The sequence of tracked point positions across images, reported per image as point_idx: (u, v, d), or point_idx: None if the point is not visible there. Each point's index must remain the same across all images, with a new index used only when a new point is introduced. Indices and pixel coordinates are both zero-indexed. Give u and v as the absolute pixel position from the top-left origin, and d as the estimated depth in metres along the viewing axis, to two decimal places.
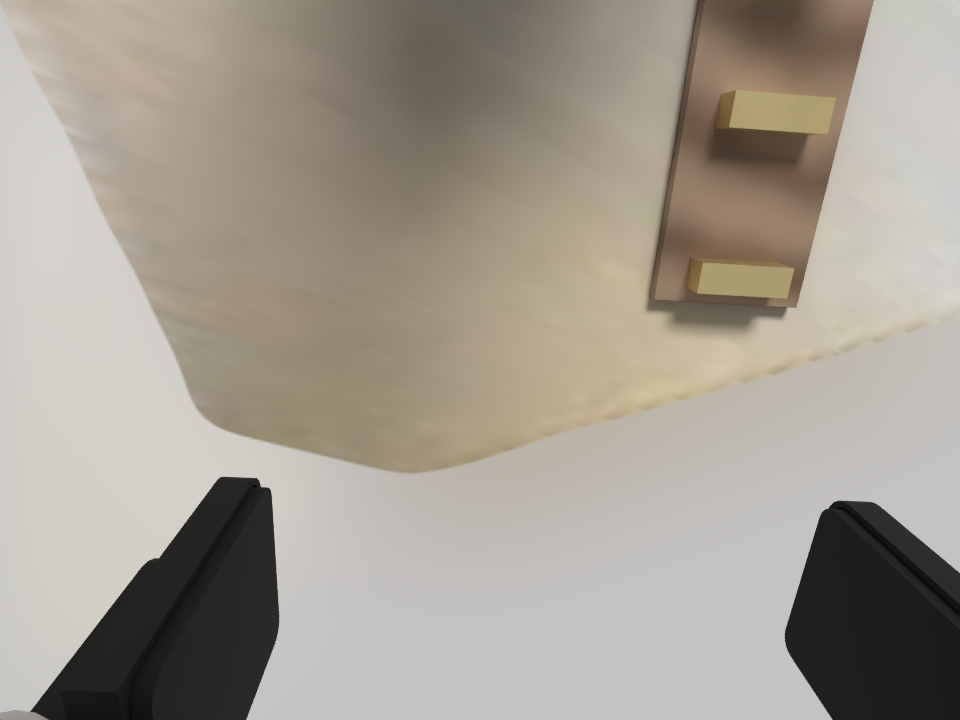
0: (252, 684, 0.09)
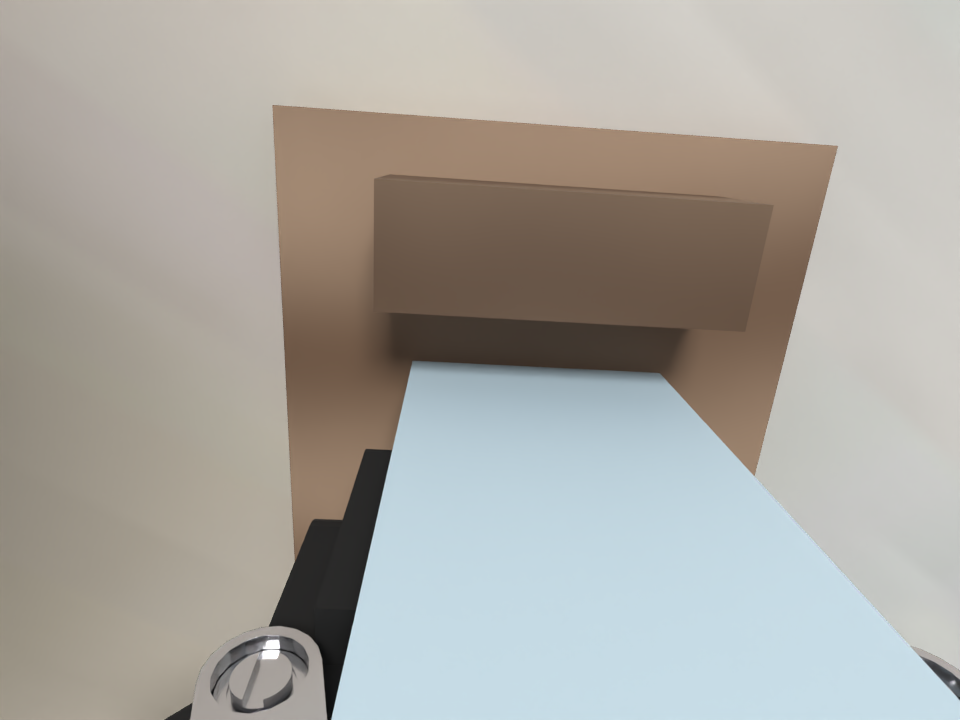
0: None
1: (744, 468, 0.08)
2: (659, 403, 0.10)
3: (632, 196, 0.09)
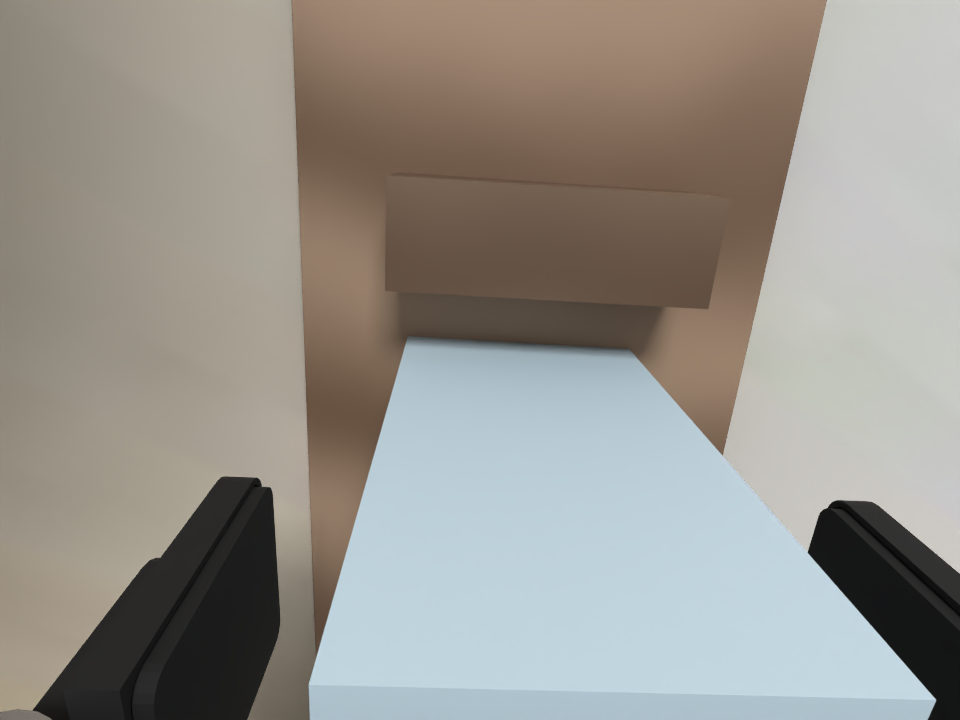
0: (253, 683, 0.09)
1: (689, 421, 0.10)
2: (624, 372, 0.12)
3: None
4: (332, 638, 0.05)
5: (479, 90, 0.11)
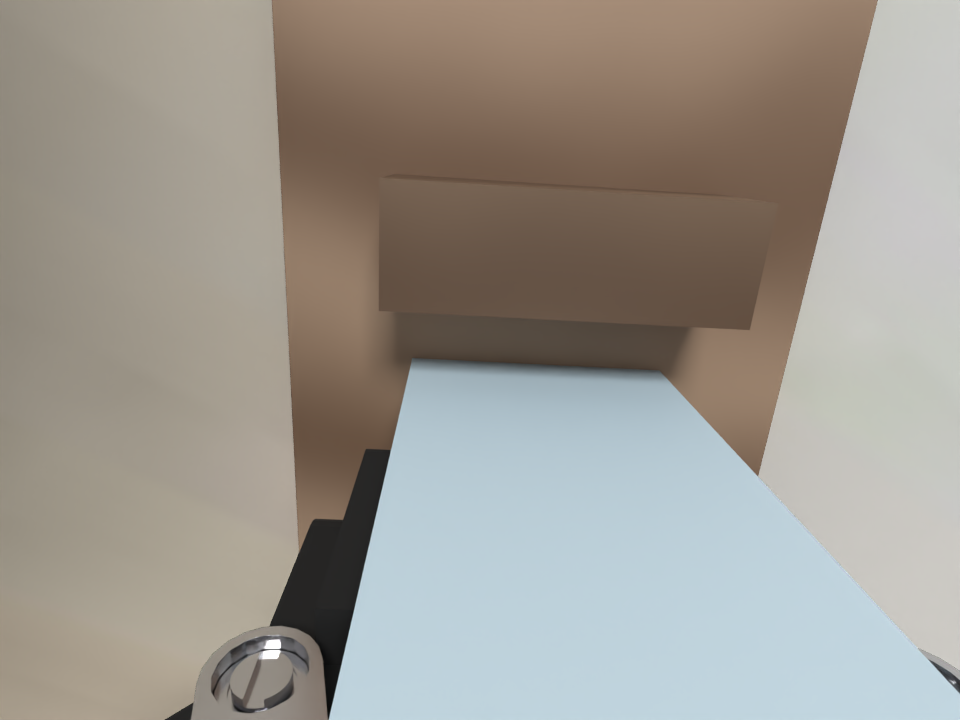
0: None
1: (744, 464, 0.08)
2: (659, 400, 0.10)
3: None
4: None
5: (486, 80, 0.10)
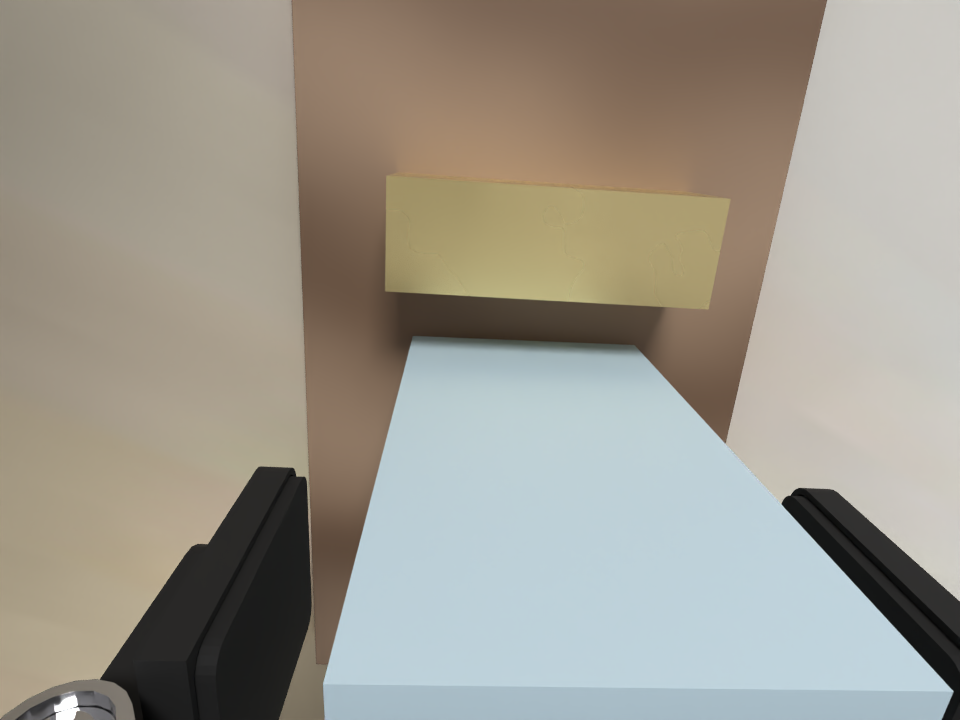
0: (290, 665, 0.09)
1: (698, 416, 0.10)
2: (630, 368, 0.12)
3: None
4: (345, 637, 0.05)
5: None
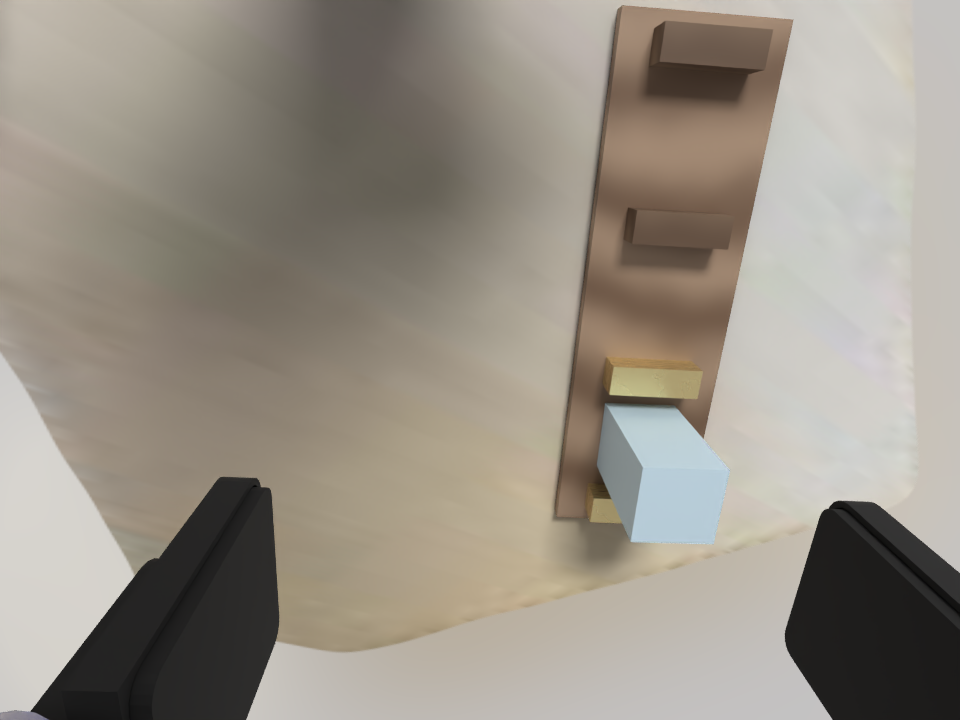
0: (252, 684, 0.09)
1: (694, 429, 0.38)
2: (674, 414, 0.40)
3: (734, 26, 0.32)
4: (642, 463, 0.33)
5: (656, 182, 0.36)
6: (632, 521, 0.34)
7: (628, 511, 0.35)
